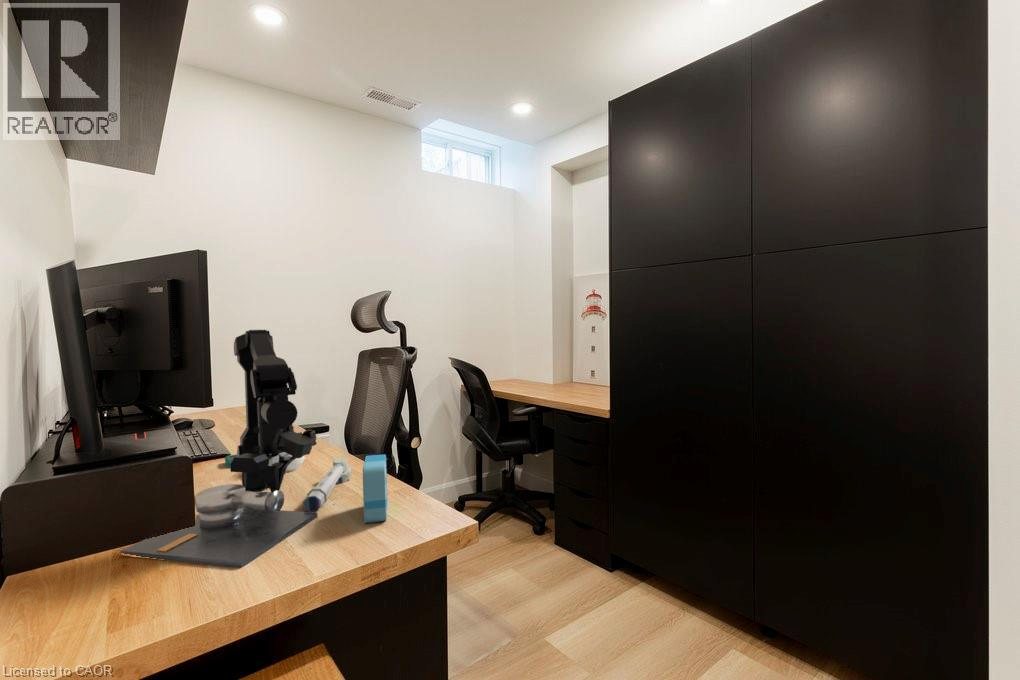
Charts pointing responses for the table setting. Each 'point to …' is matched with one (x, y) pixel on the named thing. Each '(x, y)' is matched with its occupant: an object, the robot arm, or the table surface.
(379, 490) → the data package
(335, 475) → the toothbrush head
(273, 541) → the cutting board
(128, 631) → the table surface
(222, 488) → the dryer elbow
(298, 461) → the lidded jar
